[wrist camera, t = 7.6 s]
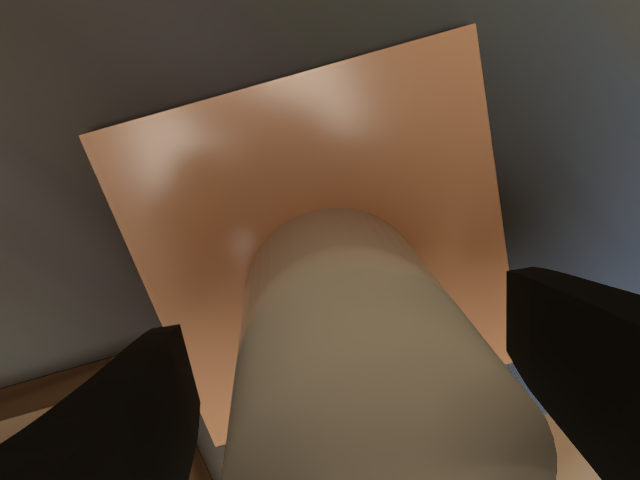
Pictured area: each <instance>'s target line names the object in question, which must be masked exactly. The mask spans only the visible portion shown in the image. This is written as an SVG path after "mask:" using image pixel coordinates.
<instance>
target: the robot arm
mask: <svg viewBox="0 0 640 480" xmlns="http://www.w3.org/2000/svg"><path fill="white" fill-rule="evenodd" d="M506 351H507V353H508V355H509V357H510V358H511V360H512V362H513V364H514V365H515V367H516V369H517V371H518V372H519V374H520V375H521V377H522V379H523V380H524V382H525V384H526V385H527V387H528V388H529V390H530V391H531V392H532V393H533V395H534V396H535V397H536V399H537V400H538V401H539V402H540V404H541V405H542V406H543V407H544V409H545V410H546V411H547V412H548V414H549V415H550V416H551V417H552V419H553V420H554V421H555V422H556V424H557V425H558V426H559V427H560V429H561V430H562V431H563V432H564V433H565V435H566V436H567V437H568V438H569V440H570V441H571V442H572V443H573V444H574V446H575V447H576V448H577V449H578V451H579V452H580V453H581V454H582V456H583V457H584V458H585V459H586V461H587V462H588V463H589V464H590V466H591V467H592V468H593V469H594V470H595V472H596V473H597V474H598V476H599V477H600V478H601V479H602V480H640V295H639V294H635V293H632V292H628V291H624V290H621V289H617V288H614V287H610V286H607V285H604V284H600V283H597V282H593V281H590V280H586V279H583V278H579V277H576V276H572V275H569V274H565V273H561V272H557V271H553V270H549V269H544V268H538V267H529V268H523V269H517V270H511V271H506ZM200 404H201V402H200V398H199V395H198V391H197V387H196V383H195V379H194V376H193V372H192V368H191V364H190V361H189V357H188V353H187V349H186V345H185V342H184V338H183V334H182V330H181V327H180V324H177V325H171V326H165V327H159V328H153V329H150V330H149V331H147V332H146V333H144V334H143V335H141V336H140V337H139V338H138V339H136V340H135V341H134V342H133V343H131V344H130V345H129V346H128V347H126V348H125V349H124V350H123V351H122V352H121V353H119V354H118V355H117V356H116V357H115V358H113V359H112V360H111V361H110V362H109V363H107V364H106V365H105V366H104V367H103V368H101V369H100V370H99V371H98V372H97V373H95V374H94V375H93V376H92V377H91V378H89V379H88V380H87V381H86V382H84V383H83V384H82V385H81V386H79V387H78V388H77V389H75V390H74V391H73V392H71V393H70V394H69V395H68V396H66V397H65V398H64V399H62V400H61V401H60V402H58V403H57V404H56V405H55V406H53V407H52V408H51V409H49V410H48V411H47V412H45V413H44V414H43V415H41V416H40V417H39V418H37V419H36V420H34V421H33V422H32V423H30V424H29V425H27V426H26V427H24V428H23V429H22V430H20V431H19V432H17V433H16V434H14V435H13V436H11V437H10V438H8V439H7V440H5V441H4V442H2V443H0V480H189V476H190V472H191V468H192V463H193V459H194V454H195V450H196V445H197V436H198V427H199V416H200Z"/></svg>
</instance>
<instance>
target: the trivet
mask: <svg viewBox="0 0 640 480" xmlns="http://www.w3.org/2000/svg"><path fill="white" fill-rule="evenodd" d="M79 138H80V140H81V142H82V145H83V147H84V149H85V152H86V154H87V156H88V158H89V161H90V163H91V165H92V167H93V170H94V172H95V174H96V177H97V179H98V181H99V183H100V186H101V188H102V190H103V192H104V195H105V197H106V199H107V202H108V204H109V206H110V208H111V211H112V213H113V215H114V217H115V220H116V222H117V224H118V227H119V229H120V231H121V233H122V236H123V238H124V240H125V242H126V245H127V247H128V249H129V252H130V254H131V256H132V258H133V261H134V263H135V265H136V267H137V270H138V272H139V274H140V277H141V279H142V281H143V283H144V286H145V288H146V290H147V292H148V295H149V297H150V299H151V302H152V304H153V306H154V308H155V311H156V313H157V315H158V317H159V320H160V322H161V324H162V327H165V326H171V325H177V324H180V327H181V330H182V334H183V338H184V342H185V345H186V349H187V353H188V357H189V361H190V364H191V368H192V372H193V376H194V379H195V383H196V387H197V391H198V395H199V398H200V402H201V404H200V413H201V415H202V417H203V420H204V422H205V424H206V427H207V429H208V431H209V433H210V436H211V438H212V440H213V442H214V445H215V447H217V446H220V445H224V444H226V439H227V431H228V423H229V415H230V407H231V399H232V391H233V384H234V376H235V368H236V360H237V352H238V344H239V336H240V329H241V321H242V313H243V305H244V297H245V289H246V282H247V276H248V272H249V269H250V266H251V263H252V261H253V259H254V257H255V255H256V253H257V252H258V250H259V249H260V247H261V246H262V244H263V243H264V242H265V241H266V239H267V238H268V237H269V236H270V235H271V234H272V233H273V232H275V231H276V230H277V229H278V228H279V227H281V226H282V225H284V224H285V223H287V222H288V221H290V220H292V219H294V218H296V217H298V216H300V215H302V214H305V213H308V212H311V211H315V210H320V209H326V208H349V209H355V210H360V211H363V212H367V213H370V214H372V215H374V216H376V217H379V218H381V219H382V220H384V221H385V222H387V223H389V224H390V225H391V226H392V227H394V228H395V229H396V230H397V231H398V232H399V233H400V234H401V235H402V236H403V237H404V239H405V240H406V241H407V242H408V244H409V245H410V246H411V247H412V249H413V250H414V251H415V252H416V254H417V255H418V256H419V257H420V259H421V260H422V261H423V262H424V264H425V265H426V266H427V267H428V269H429V270H430V271H431V272H432V274H433V275H434V276H435V277H436V279H437V280H438V281H439V282H440V284H441V285H442V286H443V288H444V289H445V290H446V291H447V293H448V294H449V295H450V296H451V298H452V299H453V300H454V301H455V303H456V304H457V305H458V306H459V308H460V309H461V310H462V311H463V313H464V314H465V315H466V316H467V318H468V319H469V320H470V321H471V323H472V324H473V325H474V326H475V328H476V329H477V330H478V332H479V333H480V334H481V335H482V337H483V338H484V339H485V340H486V342H487V343H488V344H489V345H490V347H491V348H492V349H493V350H494V352H495V353H496V354H497V355H498V357H499V358H500V359H501V360H502V362H503V363H504V364H505V365H506V364H509V363H513V362H512V360H511V358H510V357H509V355H508V353H507V351H506V271H509V266H508V259H507V251H506V244H505V236H504V229H503V222H502V214H501V207H500V199H499V192H498V185H497V177H496V170H495V162H494V155H493V148H492V140H491V133H490V125H489V118H488V111H487V103H486V96H485V88H484V81H483V74H482V66H481V59H480V51H479V44H478V37H477V29H476V23H474V24H470V25H466V26H462V27H459V28H455V29H451V30H448V31H444V32H441V33H437V34H434V35H430V36H427V37H423V38H420V39H416V40H413V41H409V42H406V43H402V44H399V45H395V46H391V47H388V48H384V49H381V50H377V51H374V52H370V53H367V54H363V55H360V56H356V57H353V58H349V59H346V60H342V61H339V62H335V63H331V64H328V65H324V66H321V67H317V68H314V69H310V70H307V71H303V72H300V73H296V74H293V75H289V76H286V77H282V78H279V79H275V80H271V81H268V82H264V83H261V84H257V85H254V86H250V87H247V88H243V89H240V90H236V91H233V92H229V93H226V94H222V95H219V96H215V97H211V98H208V99H204V100H201V101H197V102H194V103H190V104H187V105H183V106H180V107H176V108H173V109H169V110H166V111H162V112H159V113H155V114H151V115H148V116H144V117H141V118H137V119H134V120H130V121H127V122H123V123H120V124H116V125H113V126H109V127H106V128H102V129H99V130H95V131H91V132H88V133H85V134H82V135H79Z"/></svg>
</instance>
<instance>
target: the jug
mask: <svg viewBox="0 0 640 480" xmlns="http://www.w3.org/2000/svg"><path fill="white" fill-rule="evenodd" d="M556 474H557V454H556V448H555V443H554V438H553V435H552V433H551V430H550V428H549V425H548V422H547V420H546V419H545V417H544V415H543V414H542V412H541V410H540V409H539V407H538V406H537V404H536V403H535V402H534V401H533V399H532V398H531V397H530V396H529V394H528V393H527V392H526V391H525V389H524V388H523V387H522V386H521V384H520V383H519V382H518V381H517V379H516V378H515V377H514V376H513V374H512V373H511V372H510V370H509V369H508V368H507V367H506V365H505V364H504V363H503V362H502V360H501V359H500V358H499V357H498V355H497V354H496V353H495V352H494V350H493V349H492V348H491V347H490V345H489V344H488V343H487V342H486V340H485V339H484V338H483V337H482V335H481V334H480V333H479V332H478V330H477V329H476V328H475V326H474V325H473V324H472V323H471V321H470V320H469V319H468V318H467V316H466V315H465V314H464V313H463V311H462V310H461V309H460V308H459V306H458V305H457V304H456V303H455V301H454V300H453V299H452V298H451V296H450V295H449V294H448V293H447V291H446V290H445V289H444V288H443V286H442V285H441V284H440V282H439V281H438V280H437V279H436V277H435V276H434V275H433V274H432V272H431V271H430V270H429V269H428V267H427V266H426V265H425V264H424V262H423V261H422V260H421V259H420V257H419V256H418V255H417V254H416V252H415V251H414V250H413V249H412V247H411V246H410V245H409V244H408V242H407V241H406V240H405V239H404V237H403V236H402V235H401V234H400V233H399V232H398V231H397V230H396V229H395V228H394V227H392V226H391V225H390V224H389V223H387V222H385V221H384V220H382V219H381V218H379V217H376V216H374V215H372V214H370V213H367V212H363V211H360V210H355V209H349V208H326V209H320V210H315V211H311V212H308V213H305V214H302V215H300V216H298V217H296V218H294V219H292V220H290V221H288V222H287V223H285V224H284V225H282V226H281V227H279V228H278V229H277V230H276V231H275V232H273V233H272V234H271V235H270V236H269V237H268V238H267V239H266V241H265V242H264V243H263V244H262V246H261V247H260V249H259V250H258V252H257V253H256V255H255V257H254V259H253V261H252V263H251V266H250V269H249V272H248V276H247V282H246V289H245V297H244V305H243V313H242V321H241V329H240V336H239V344H238V352H237V360H236V368H235V376H234V384H233V391H232V399H231V407H230V415H229V423H228V431H227V439H226V446H225V454H224V462H223V470H222V478H221V480H556Z"/></svg>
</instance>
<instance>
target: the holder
mask: <svg viewBox="0 0 640 480" xmlns="http://www.w3.org/2000/svg"><path fill="white" fill-rule="evenodd" d="M115 357H116V356H115ZM115 357H111V358H108V359H104V360H101V361H97V362H94V363H90V364H87V365H83V366H80V367H76V368H73V369H69V370H66V371H62V372H59V373H55V374H52V375H48V376H44V377H41V378H37V379H34V380H30V381H27V382H23V383H20V384H16V385H13V386H9V387H6V388H2V389H0V443H2V442H4V441H5V440H7V439H8V438H10V437H11V436H13V435H14V434H16V433H17V432H19V431H20V430H22V429H23V428H24V427H26V426H27V425H29V424H30V423H32V422H33V421H34V420H36V419H37V418H39V417H40V416H41V415H43V414H44V413H45V412H47V411H48V410H49V409H51V408H52V407H53V406H55V405H56V404H57V403H58V402H60V401H61V400H62V399H64V398H65V397H66V396H68V395H69V394H70V393H71V392H73V391H74V390H75V389H77V388H78V387H79V386H81V385H82V384H83V383H84V382H86V381H87V380H88V379H89V378H91V377H92V376H93V375H94V374H95V373H97V372H98V371H99V370H100V369H101V368H103V367H104V366H105V365H106V364H107V363H109V362H110V361H111V360H112V359H113V358H115ZM189 480H212V478H211V476H210V474H209V472H208V470H207V467H206V465H205V463H204V461H203V459H202V457H201V454H200V452H199V450H198V448H197V446H196V450H195V454H194V459H193V463H192V468H191V472H190V476H189Z"/></svg>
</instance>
